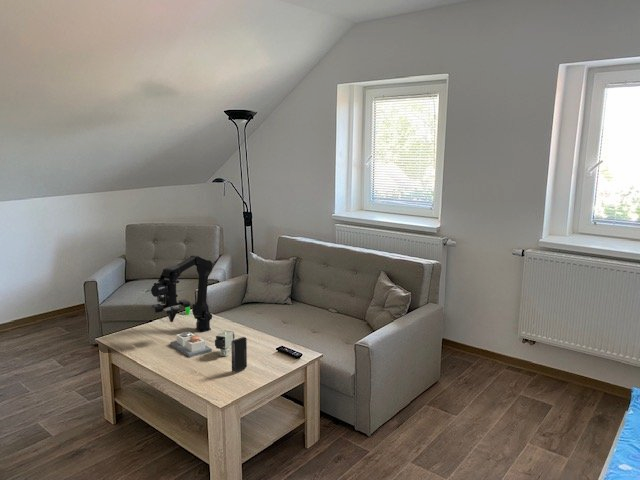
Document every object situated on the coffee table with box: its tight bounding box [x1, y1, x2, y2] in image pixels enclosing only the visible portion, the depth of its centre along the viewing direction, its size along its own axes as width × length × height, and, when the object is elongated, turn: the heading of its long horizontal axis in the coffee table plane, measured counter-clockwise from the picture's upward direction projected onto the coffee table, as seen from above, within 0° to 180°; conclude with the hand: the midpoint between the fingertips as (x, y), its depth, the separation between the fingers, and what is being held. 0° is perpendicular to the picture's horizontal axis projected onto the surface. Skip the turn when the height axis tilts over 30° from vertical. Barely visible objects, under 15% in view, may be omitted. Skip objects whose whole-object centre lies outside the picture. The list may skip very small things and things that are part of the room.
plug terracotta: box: [190, 334, 201, 343], centre depth 248 cm, size 5×5×5 cm
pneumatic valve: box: [214, 330, 236, 358], centre depth 243 cm, size 6×12×12 cm, turn 161°
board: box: [169, 332, 213, 358], centre depth 252 cm, size 12×22×6 cm, turn 40°
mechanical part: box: [184, 306, 191, 316], centre depth 307 cm, size 12×6×8 cm, turn 7°
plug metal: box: [180, 331, 192, 338], centre depth 255 cm, size 5×5×5 cm
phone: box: [230, 336, 248, 373], centre depth 225 cm, size 8×1×15 cm, turn 138°
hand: (171, 322), depth 255 cm, fingers closed
